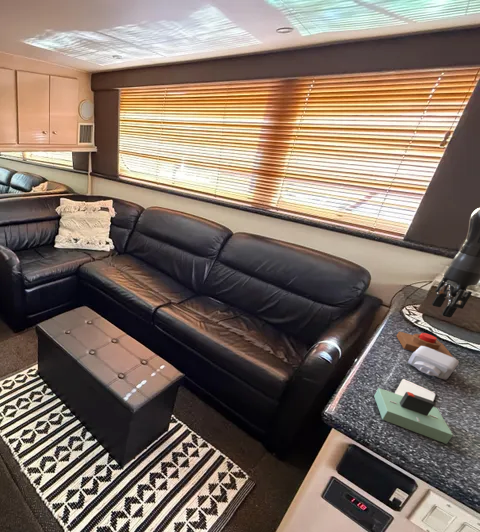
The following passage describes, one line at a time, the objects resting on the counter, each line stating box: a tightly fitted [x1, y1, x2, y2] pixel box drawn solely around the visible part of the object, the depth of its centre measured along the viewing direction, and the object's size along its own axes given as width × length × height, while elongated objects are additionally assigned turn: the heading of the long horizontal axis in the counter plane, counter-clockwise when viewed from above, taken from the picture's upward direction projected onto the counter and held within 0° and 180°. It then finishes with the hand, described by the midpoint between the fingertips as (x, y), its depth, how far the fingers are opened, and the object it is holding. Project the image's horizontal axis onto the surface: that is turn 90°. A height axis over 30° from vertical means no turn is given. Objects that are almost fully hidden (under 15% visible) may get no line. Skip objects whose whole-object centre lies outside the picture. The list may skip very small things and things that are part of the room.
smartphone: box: [394, 378, 436, 402], centre depth 91 cm, size 7×1×15 cm
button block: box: [396, 330, 454, 358], centre depth 114 cm, size 12×10×4 cm
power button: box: [419, 332, 438, 343], centre depth 113 cm, size 4×4×2 cm
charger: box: [407, 346, 460, 380], centre depth 102 cm, size 5×9×15 cm
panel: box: [373, 387, 454, 445], centre depth 82 cm, size 12×10×3 cm
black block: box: [400, 392, 435, 416], centre depth 81 cm, size 5×2×4 cm, turn 58°
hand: (440, 311), depth 109 cm, fingers open, 8 cm apart
